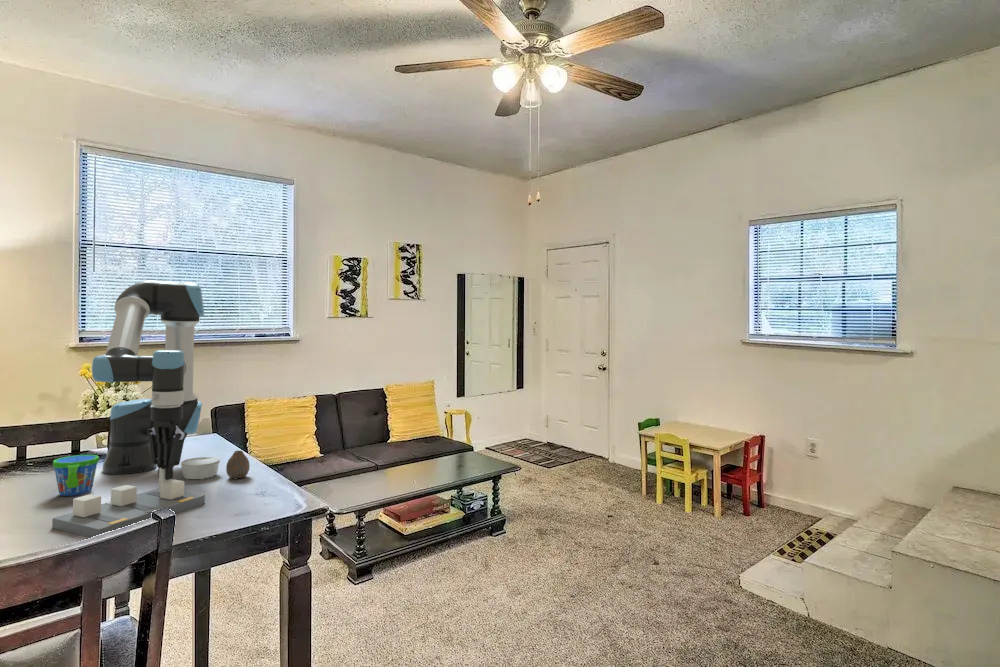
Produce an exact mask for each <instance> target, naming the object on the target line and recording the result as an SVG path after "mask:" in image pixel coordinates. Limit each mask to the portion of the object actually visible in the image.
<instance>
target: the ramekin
mask: <svg viewBox="0 0 1000 667" xmlns="http://www.w3.org/2000/svg"><path fill="white" fill-rule="evenodd" d="M220 462H221V460H220V458H218V457H214V456H200V457H194V458H193V457H192V458H188V459H184V460H183V461H180V466H181V470H182V476H183V478H186V480H188V479H202V480H205V479H204V478H207V479H210V478H209V477H211V478H213V477H212V476H214V475H215V476H216V475H217V473H218V470H219V466H220ZM215 476H214V477H215Z"/></svg>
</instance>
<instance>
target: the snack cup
mask: <svg viewBox="0 0 1000 667" xmlns="http://www.w3.org/2000/svg"><path fill="white" fill-rule="evenodd" d="M99 461H100V457H99V455H97V454H77V455H68V456H64V457H63V456H62V457H59V458H55V459H54V460H52V467H53V468H54V471H55V472H54V473H55V480H56V483H57V489H58V494H59V495H60V496H61V497H63V496H65V497H70V496H71V497H72V496H79V495H80V496H81V495H84V494H86V493H90V491H92V489H93V486H94V481H95V477H96V470H97V465H98V463H99Z"/></svg>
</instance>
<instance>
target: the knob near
mask: <svg viewBox="0 0 1000 667" xmlns="http://www.w3.org/2000/svg"><path fill="white" fill-rule="evenodd" d="M101 504H102V496H101V495H95V494H92V493H91V494H86V495H83V496H79V497H75V498H73V499H72V512H73V515H75V516H80V517H87V516H90V515H93V514H97V513H100V512H101Z"/></svg>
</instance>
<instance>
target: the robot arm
mask: <svg viewBox="0 0 1000 667" xmlns="http://www.w3.org/2000/svg"><path fill="white" fill-rule="evenodd" d="M202 294H203V293H202V288H201V286H200V285H199V284H198V283H194V282H193V283H192V282H186V281H180V282H179V281H161V280H159V281H158V280H143V281H139V282H137V283H134V284H132V285H130V286H129V287H127V288H126V289H125V290H124V291H123V292H121V293H120V295H119V296H118V297H117V299H116V301H115V303H114V312H115V314H116V315H115V318H114V320H113V321H114V322H113V326H112V329H111V333H110V335H109V336H110V337H109V341H108V344H107V347H106V349H105V350H106V352H105V354H101V355H96V356H95V357H93V360H92V364H91V365H92V366H91V374H92V379H93V380H94V381H95V382H99V383H101V382H102V383H104V382H105V383H130V382H131V383H133V382H140V383H141V382H152V383H151V398H141V399H140V398H139V399H133V400H127V401H123V402H122V401H121V402H118V403H116V404H114V405H113V406H112V407H111V409H110V417H109V422H110V424H109V431H110V432H109V449H108V451H107V454H106V456H105V459H104V462H103V464H102V473H105V474H110V475H127V474H128V475H129V474H137V473H142V472H146V471H149V470H153V469H154V468H156V467H157V468H158V472H157V474H158V475H157V478H158V488H159V492H160V486H161V483H163V482H166V481H170V480H173V478H174V467H176V466H179V465H180V464H181V458H182V454H183V449H184V443H185V440H186V438H187V436H188V435H193V434H195V433H197V431H198V429H199V428H198V427H199V422H200V418H201V411H202V406H203V402H202V401H200V400H198V399H199V397H198V395H197V394H195V393H194V362H195V361H194V360H195V359H194V356H195V355H194V354H195V353H194V351H195V326H196V325H197V324H199V323H200V317H201V318H202V317H204V316H205V311H204V310H205V309H204V301H203V295H202ZM149 315H154V316H155V315H156V316H160V321H161V323H163V324H164V325H165V348H164V349H165V350H163V349H161V350H155V351H154V352H153V353H152V355H142V354H141V355H138V354H139V348H140V344H141V338H142V336H143V335H142V334H143V330H144V323H145V319H147V318H148V317H149Z"/></svg>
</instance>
